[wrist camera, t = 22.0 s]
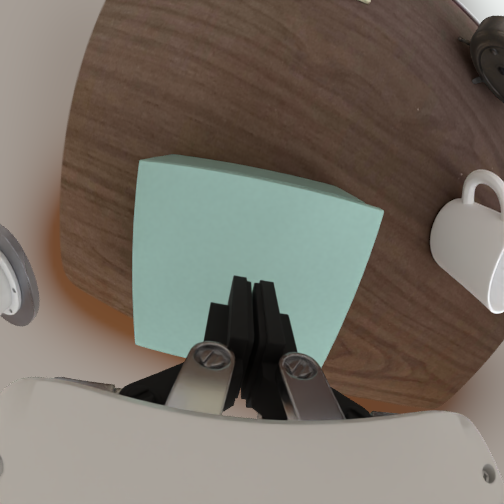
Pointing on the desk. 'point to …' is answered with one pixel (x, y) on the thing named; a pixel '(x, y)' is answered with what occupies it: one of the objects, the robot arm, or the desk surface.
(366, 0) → the mat
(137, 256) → the lid
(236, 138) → the desk surface
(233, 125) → the desk surface
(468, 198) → the mug
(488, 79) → the alarm clock
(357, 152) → the desk surface
